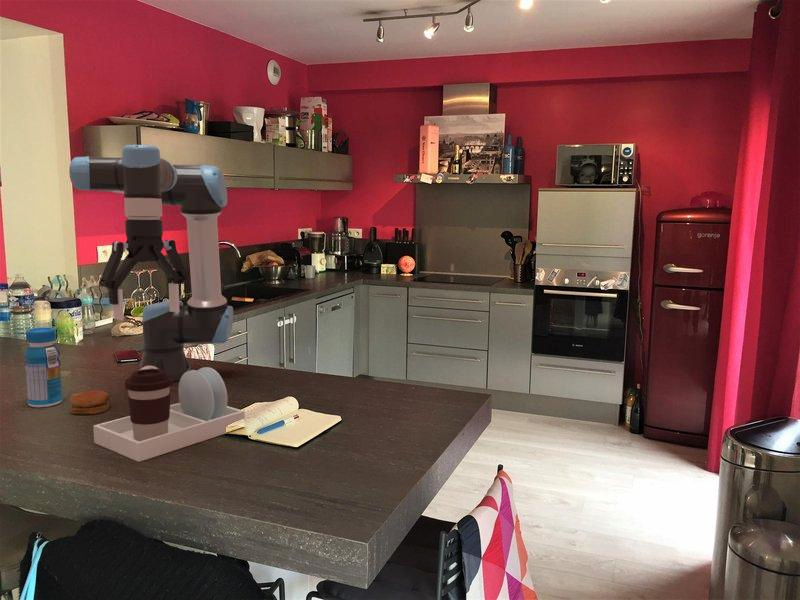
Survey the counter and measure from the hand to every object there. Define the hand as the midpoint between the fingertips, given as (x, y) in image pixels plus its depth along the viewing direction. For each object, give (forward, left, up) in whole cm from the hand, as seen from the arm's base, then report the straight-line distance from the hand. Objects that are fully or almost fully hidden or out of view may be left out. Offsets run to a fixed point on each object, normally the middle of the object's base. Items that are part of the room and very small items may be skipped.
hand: (147, 315), depth 144 cm
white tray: (-5, 0, -29) cm, 29 cm away
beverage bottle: (+2, -46, -29) cm, 55 cm away
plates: (-14, 0, -28) cm, 31 cm away
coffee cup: (0, 0, -28) cm, 28 cm away
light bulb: (-12, -19, -29) cm, 37 cm away
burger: (-3, -32, -29) cm, 43 cm away
